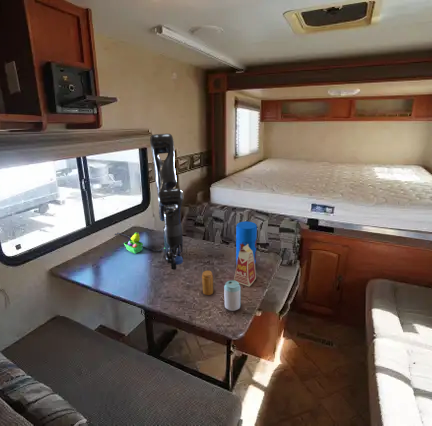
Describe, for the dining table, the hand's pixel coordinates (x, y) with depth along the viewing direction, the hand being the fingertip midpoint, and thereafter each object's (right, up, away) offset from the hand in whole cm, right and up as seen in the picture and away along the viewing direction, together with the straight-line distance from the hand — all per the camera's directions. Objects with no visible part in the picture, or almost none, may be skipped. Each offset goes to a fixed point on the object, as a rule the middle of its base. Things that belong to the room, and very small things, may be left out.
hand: (176, 265), depth 131 cm
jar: (+15, -14, +6) cm, 21 cm away
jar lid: (0, +3, -1) cm, 4 cm away
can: (+26, -18, -5) cm, 32 cm away
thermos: (+36, -6, +27) cm, 46 cm away
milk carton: (+34, -10, +15) cm, 38 cm away
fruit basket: (-32, 0, +51) cm, 60 cm away
